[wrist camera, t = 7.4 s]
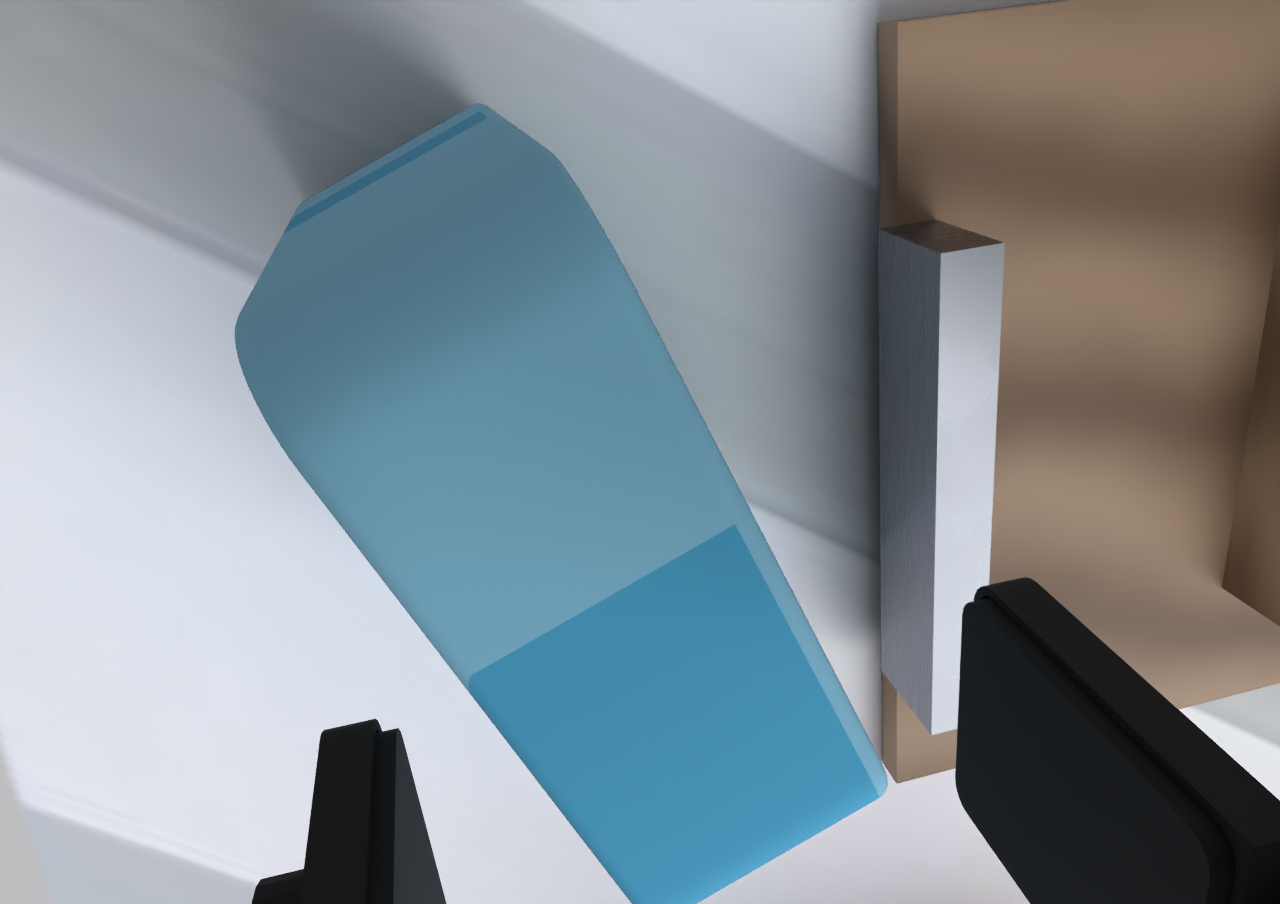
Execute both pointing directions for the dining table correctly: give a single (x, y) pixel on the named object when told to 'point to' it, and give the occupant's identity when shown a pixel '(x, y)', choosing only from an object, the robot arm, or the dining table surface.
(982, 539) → the grey rectangular bar
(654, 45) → the dining table surface
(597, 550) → the data package
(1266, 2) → the shelf
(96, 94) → the dining table surface
